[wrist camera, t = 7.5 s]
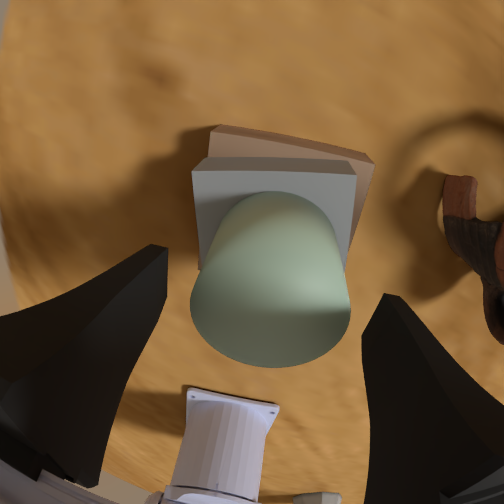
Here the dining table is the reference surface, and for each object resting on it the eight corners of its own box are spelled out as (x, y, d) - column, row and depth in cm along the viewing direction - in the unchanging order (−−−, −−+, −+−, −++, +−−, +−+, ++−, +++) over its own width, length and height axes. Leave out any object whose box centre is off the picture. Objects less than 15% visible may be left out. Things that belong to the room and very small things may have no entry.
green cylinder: (315, 304, 14) (319, 377, 11) (209, 281, 14) (186, 350, 11) (353, 208, 11) (376, 271, 8) (225, 179, 11) (196, 231, 8)
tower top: (334, 279, 16) (338, 305, 14) (215, 274, 16) (206, 299, 15) (347, 160, 12) (356, 175, 11) (204, 157, 13) (191, 171, 11)
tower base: (328, 267, 18) (332, 294, 16) (208, 245, 18) (197, 269, 16) (363, 151, 15) (375, 164, 12) (222, 122, 15) (210, 131, 12)
